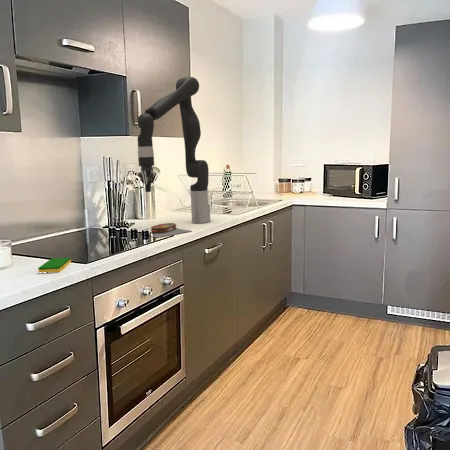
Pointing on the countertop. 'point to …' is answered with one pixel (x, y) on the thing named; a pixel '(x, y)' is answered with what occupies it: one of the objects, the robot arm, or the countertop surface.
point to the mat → (170, 233)
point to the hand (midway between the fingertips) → (148, 191)
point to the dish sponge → (55, 265)
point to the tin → (163, 228)
